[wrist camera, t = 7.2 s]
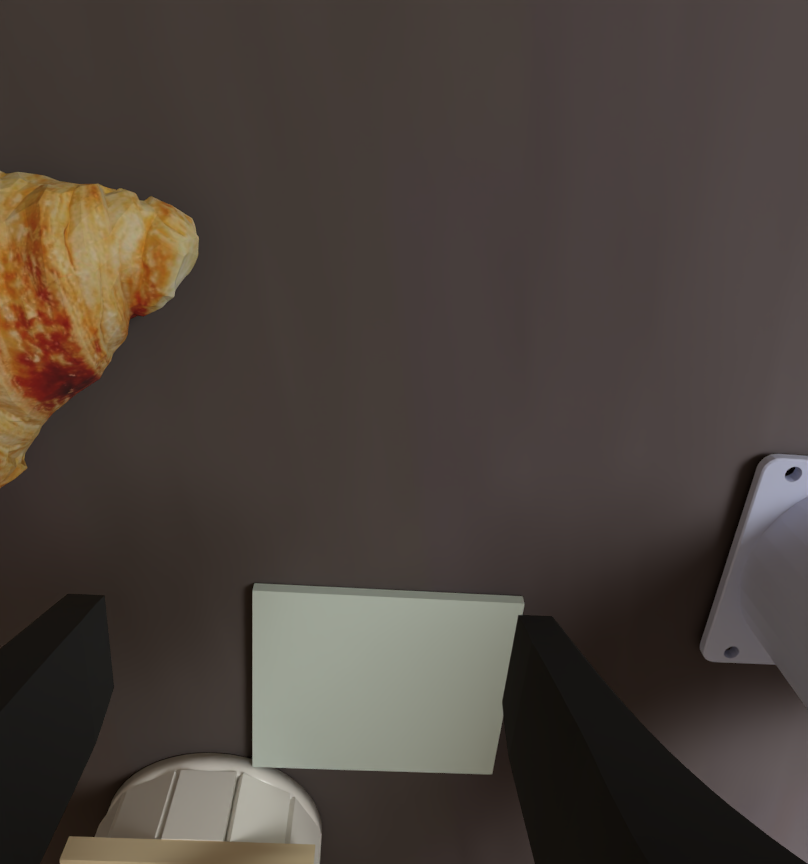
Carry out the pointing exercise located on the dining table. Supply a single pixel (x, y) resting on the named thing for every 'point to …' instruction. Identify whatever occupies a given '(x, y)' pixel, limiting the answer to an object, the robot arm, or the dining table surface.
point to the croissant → (74, 291)
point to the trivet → (379, 678)
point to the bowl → (213, 803)
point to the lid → (181, 852)
